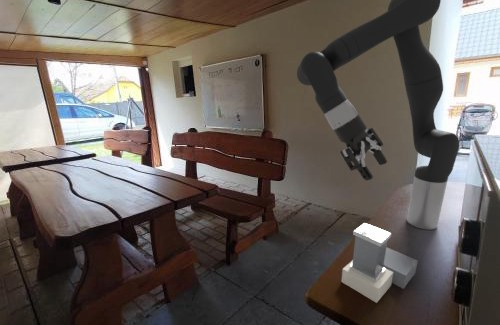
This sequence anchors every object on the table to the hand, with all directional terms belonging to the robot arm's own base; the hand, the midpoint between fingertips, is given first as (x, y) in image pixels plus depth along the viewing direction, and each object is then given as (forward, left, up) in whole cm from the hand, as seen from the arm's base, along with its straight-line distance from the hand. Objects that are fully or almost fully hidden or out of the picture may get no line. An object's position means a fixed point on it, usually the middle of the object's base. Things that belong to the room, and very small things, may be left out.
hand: (376, 171), depth 71 cm
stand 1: (+13, +6, -26) cm, 29 cm away
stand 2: (+4, +9, -26) cm, 27 cm away
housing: (+13, +6, -22) cm, 26 cm away
